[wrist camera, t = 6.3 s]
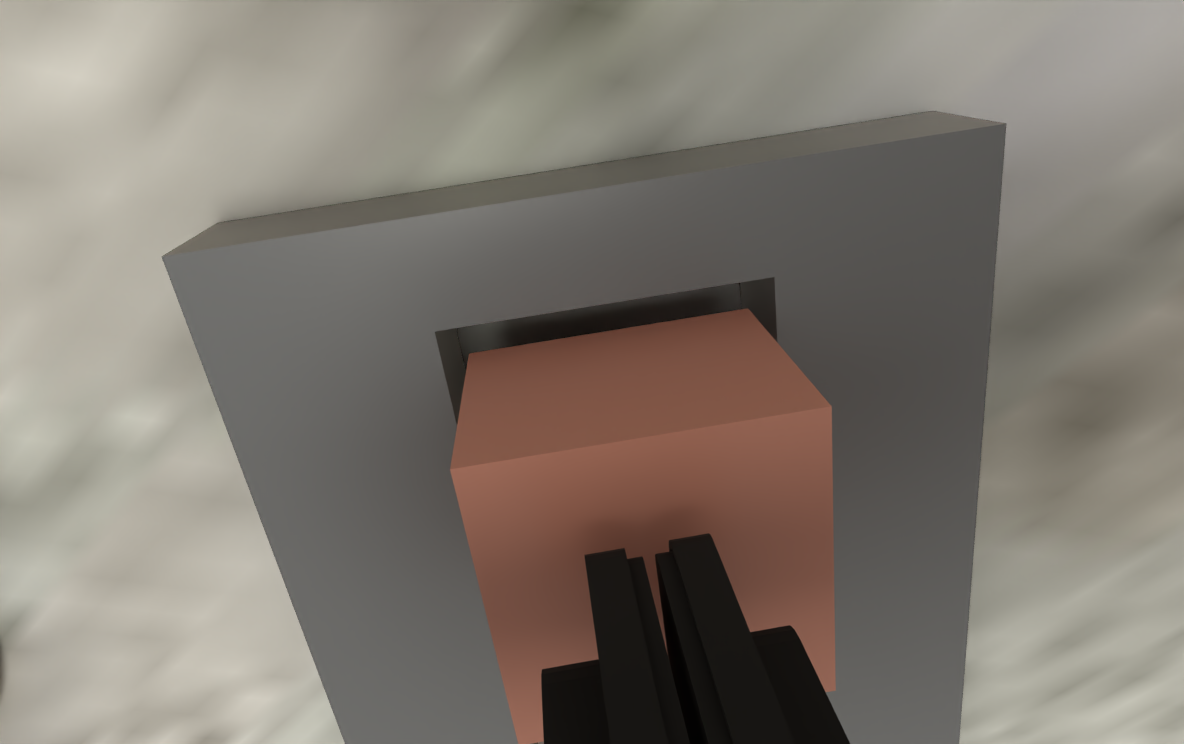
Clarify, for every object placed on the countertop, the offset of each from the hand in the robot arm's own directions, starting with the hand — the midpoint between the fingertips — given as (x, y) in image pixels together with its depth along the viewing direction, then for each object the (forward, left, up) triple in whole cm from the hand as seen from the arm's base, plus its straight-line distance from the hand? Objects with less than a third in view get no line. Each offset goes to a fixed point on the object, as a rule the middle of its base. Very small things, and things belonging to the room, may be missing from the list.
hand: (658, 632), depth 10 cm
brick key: (0, 0, -5) cm, 5 cm away
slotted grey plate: (0, +7, -7) cm, 10 cm away
